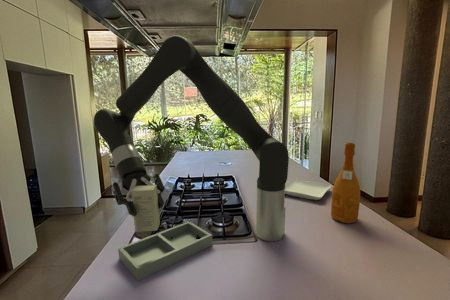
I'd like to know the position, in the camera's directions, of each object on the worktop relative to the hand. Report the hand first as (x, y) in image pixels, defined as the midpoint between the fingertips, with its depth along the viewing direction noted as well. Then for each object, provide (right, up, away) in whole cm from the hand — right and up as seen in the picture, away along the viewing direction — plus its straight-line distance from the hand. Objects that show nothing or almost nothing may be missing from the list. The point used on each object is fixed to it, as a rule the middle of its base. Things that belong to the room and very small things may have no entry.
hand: (148, 210), depth 73 cm
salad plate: (+61, -5, +58) cm, 85 cm away
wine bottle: (+68, -10, +29) cm, 74 cm away
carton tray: (+4, -14, +8) cm, 17 cm away
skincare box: (-1, -6, +2) cm, 6 cm away
